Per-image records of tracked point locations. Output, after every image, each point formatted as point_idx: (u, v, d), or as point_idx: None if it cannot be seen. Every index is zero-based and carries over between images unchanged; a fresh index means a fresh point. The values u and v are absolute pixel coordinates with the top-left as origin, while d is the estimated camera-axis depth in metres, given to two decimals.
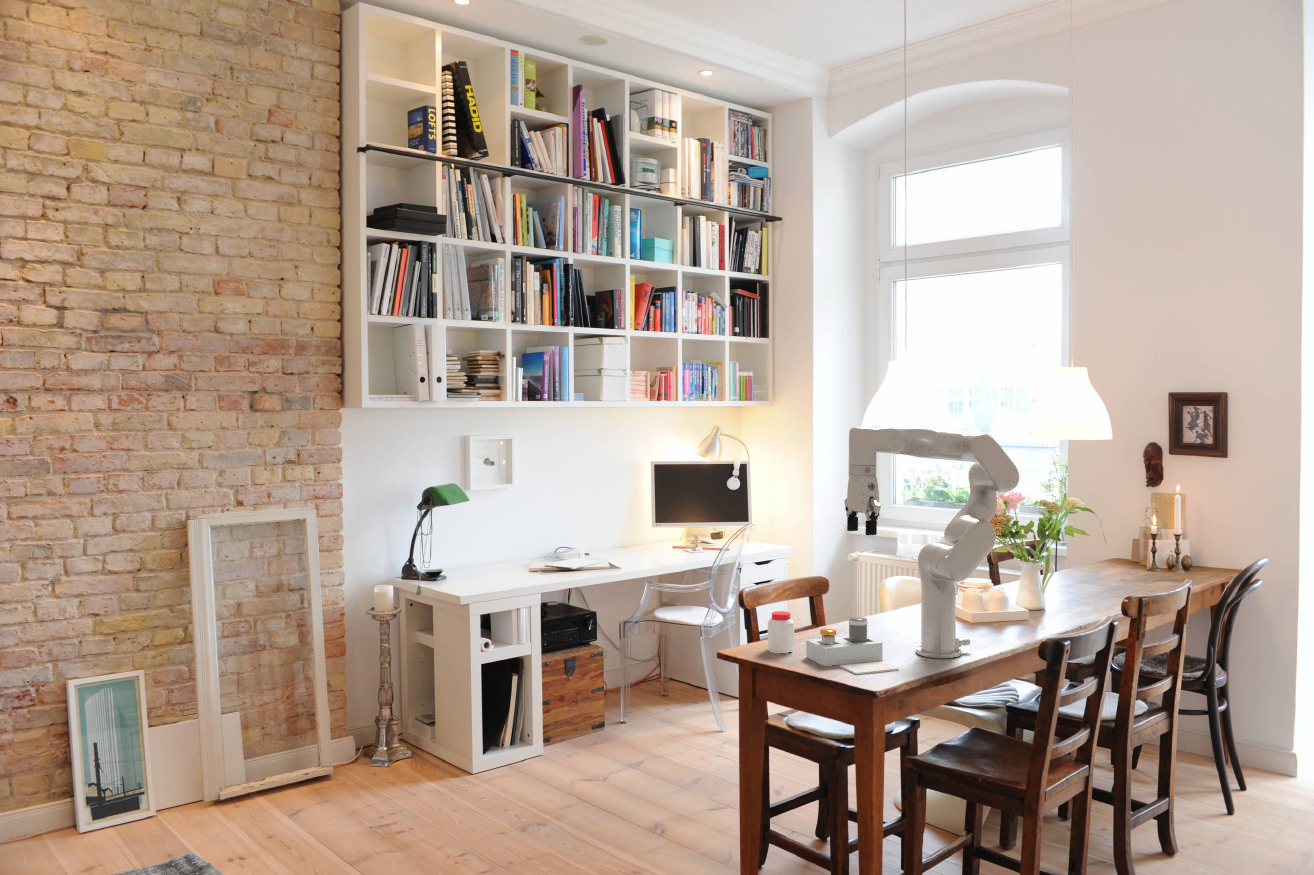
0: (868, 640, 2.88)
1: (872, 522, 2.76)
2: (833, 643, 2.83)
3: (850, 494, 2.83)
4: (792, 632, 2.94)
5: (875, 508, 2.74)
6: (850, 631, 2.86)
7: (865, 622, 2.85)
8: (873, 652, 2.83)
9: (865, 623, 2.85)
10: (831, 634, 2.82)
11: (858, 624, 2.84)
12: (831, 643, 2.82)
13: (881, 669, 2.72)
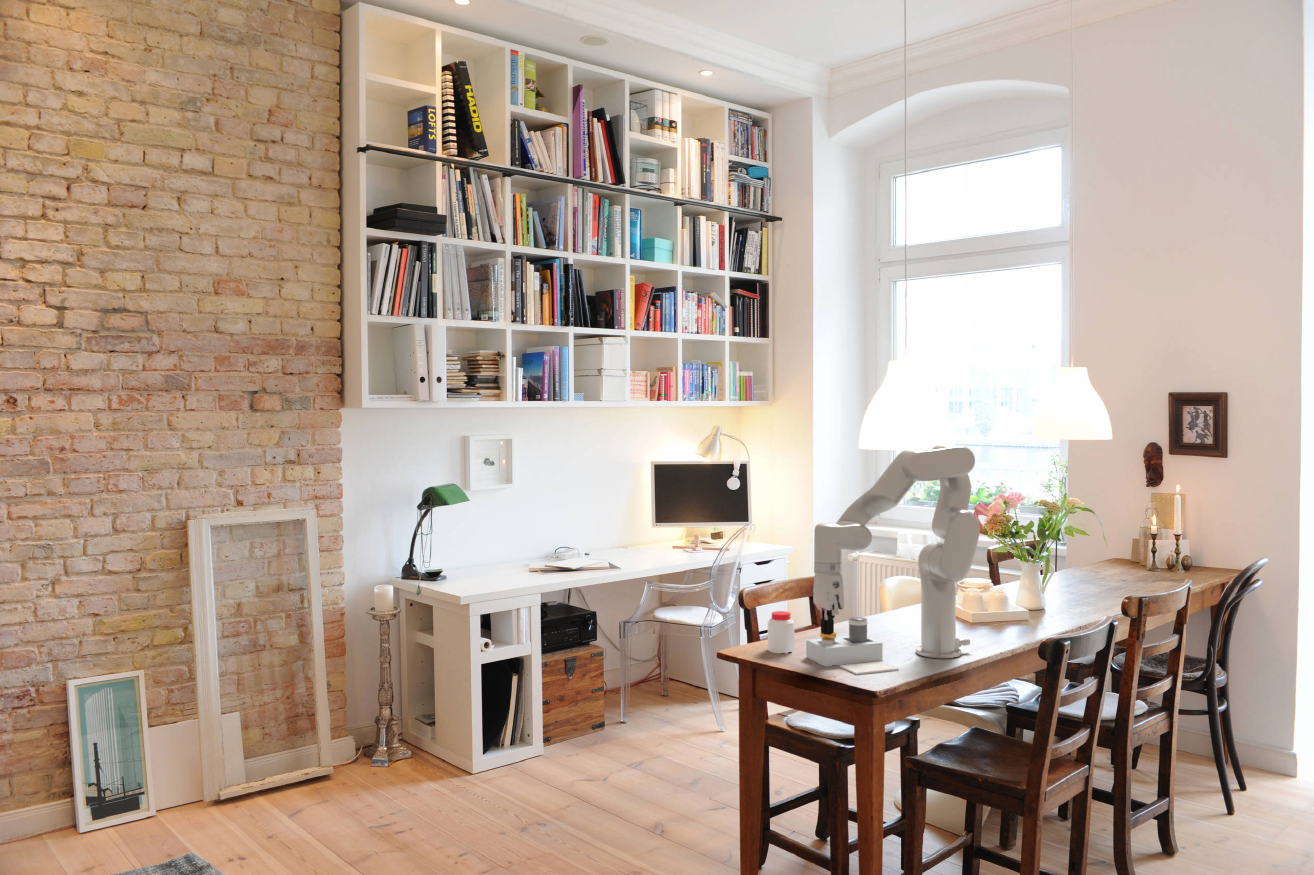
0: (868, 640, 2.88)
1: (829, 621, 2.82)
2: None
3: (816, 590, 2.85)
4: (792, 632, 2.94)
5: (833, 613, 2.79)
6: (850, 631, 2.86)
7: (865, 622, 2.85)
8: (873, 652, 2.83)
9: (865, 623, 2.85)
10: (831, 637, 2.82)
11: (858, 624, 2.84)
12: None
13: (881, 669, 2.72)
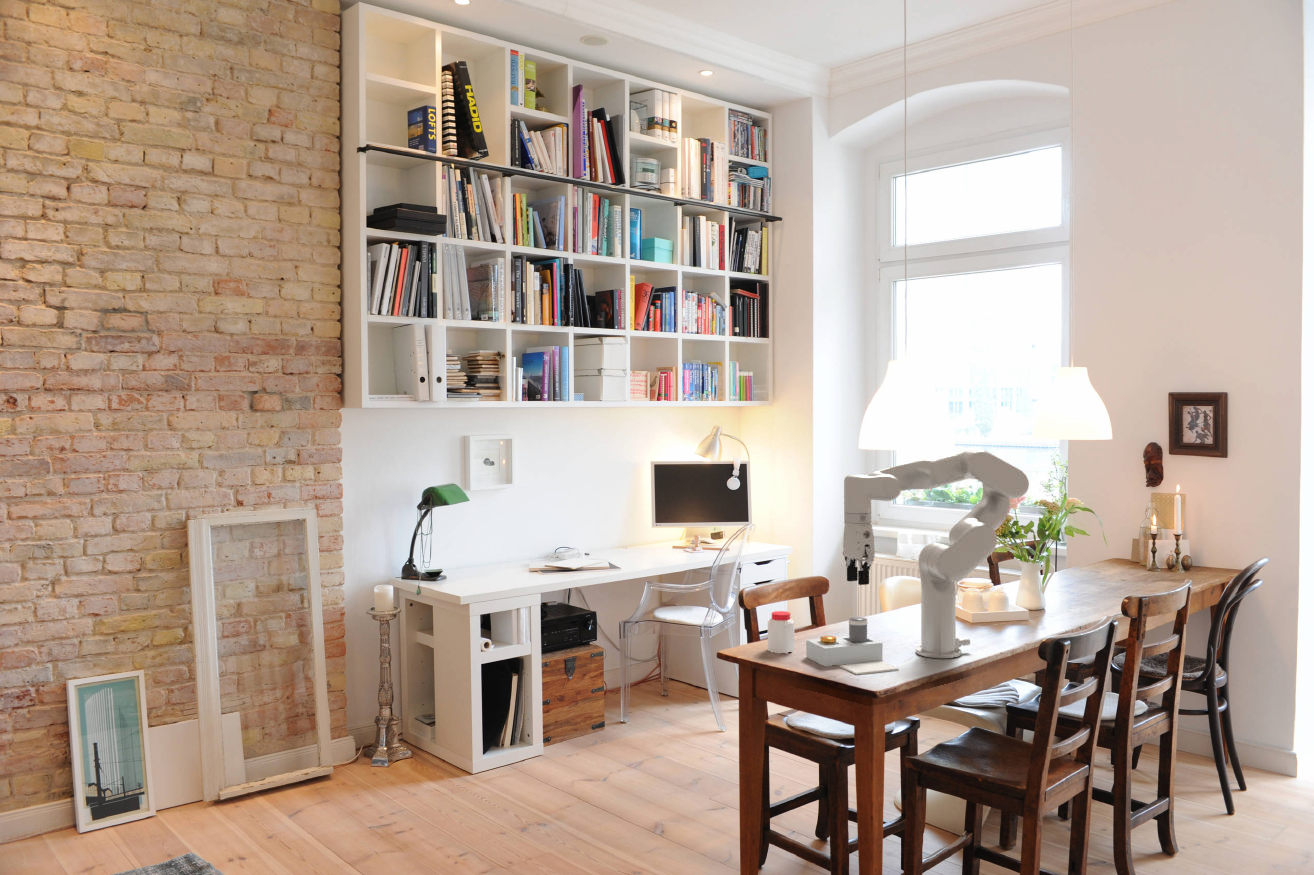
0: (868, 640, 2.88)
1: (864, 572, 2.83)
2: None
3: (846, 541, 2.88)
4: (792, 632, 2.94)
5: (868, 561, 2.80)
6: (850, 631, 2.86)
7: (865, 622, 2.85)
8: (873, 652, 2.83)
9: (865, 623, 2.85)
10: (831, 641, 2.82)
11: (858, 624, 2.84)
12: None
13: (881, 669, 2.72)
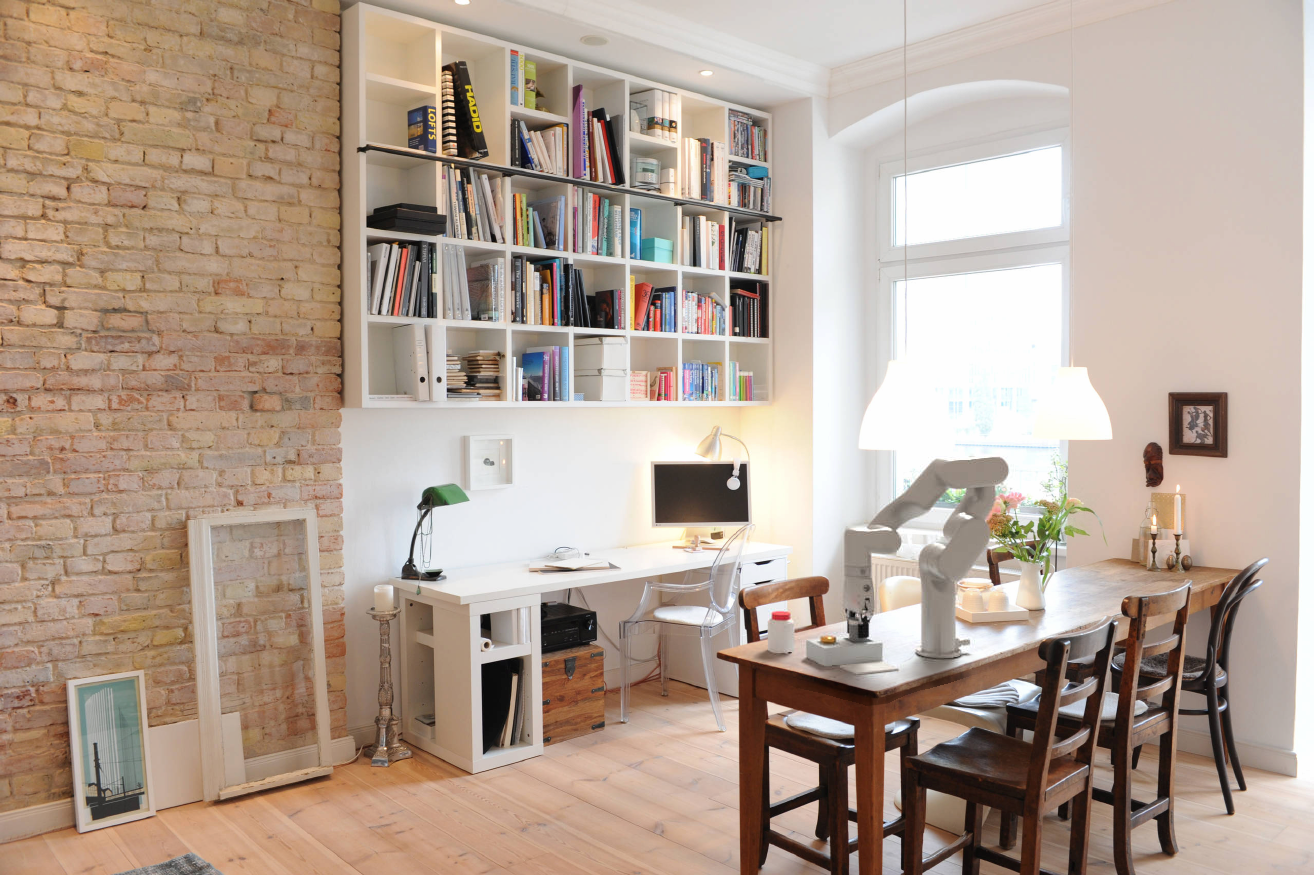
0: (868, 640, 2.88)
1: (864, 625, 2.83)
2: None
3: (846, 593, 2.88)
4: (792, 632, 2.94)
5: (868, 615, 2.80)
6: (850, 631, 2.86)
7: None
8: (873, 652, 2.83)
9: None
10: (831, 641, 2.82)
11: None
12: None
13: (881, 669, 2.72)
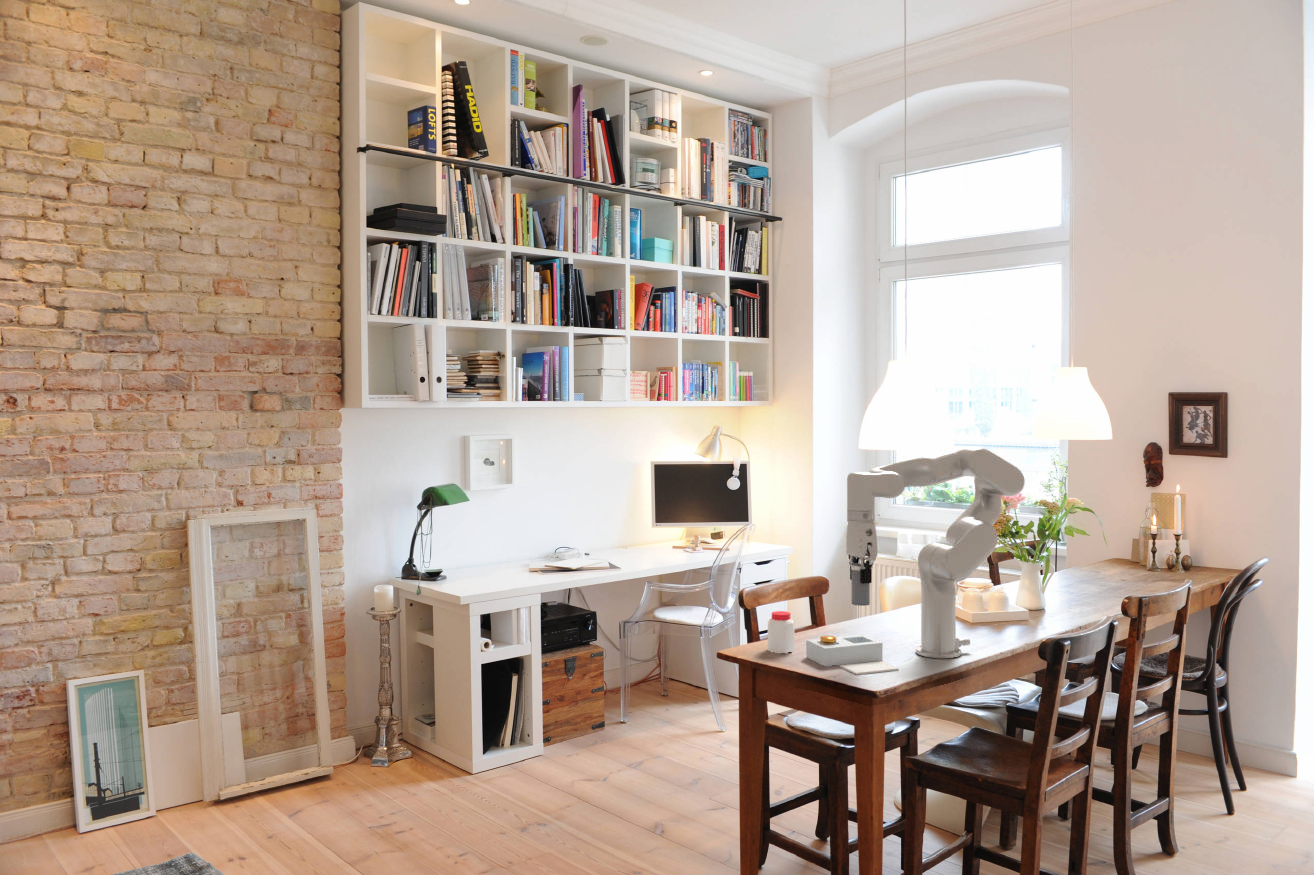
0: (868, 640, 2.88)
1: (867, 571, 2.79)
2: None
3: (849, 539, 2.84)
4: (792, 632, 2.94)
5: (870, 559, 2.76)
6: (852, 577, 2.82)
7: None
8: (873, 652, 2.83)
9: None
10: (831, 641, 2.82)
11: None
12: None
13: (881, 669, 2.72)
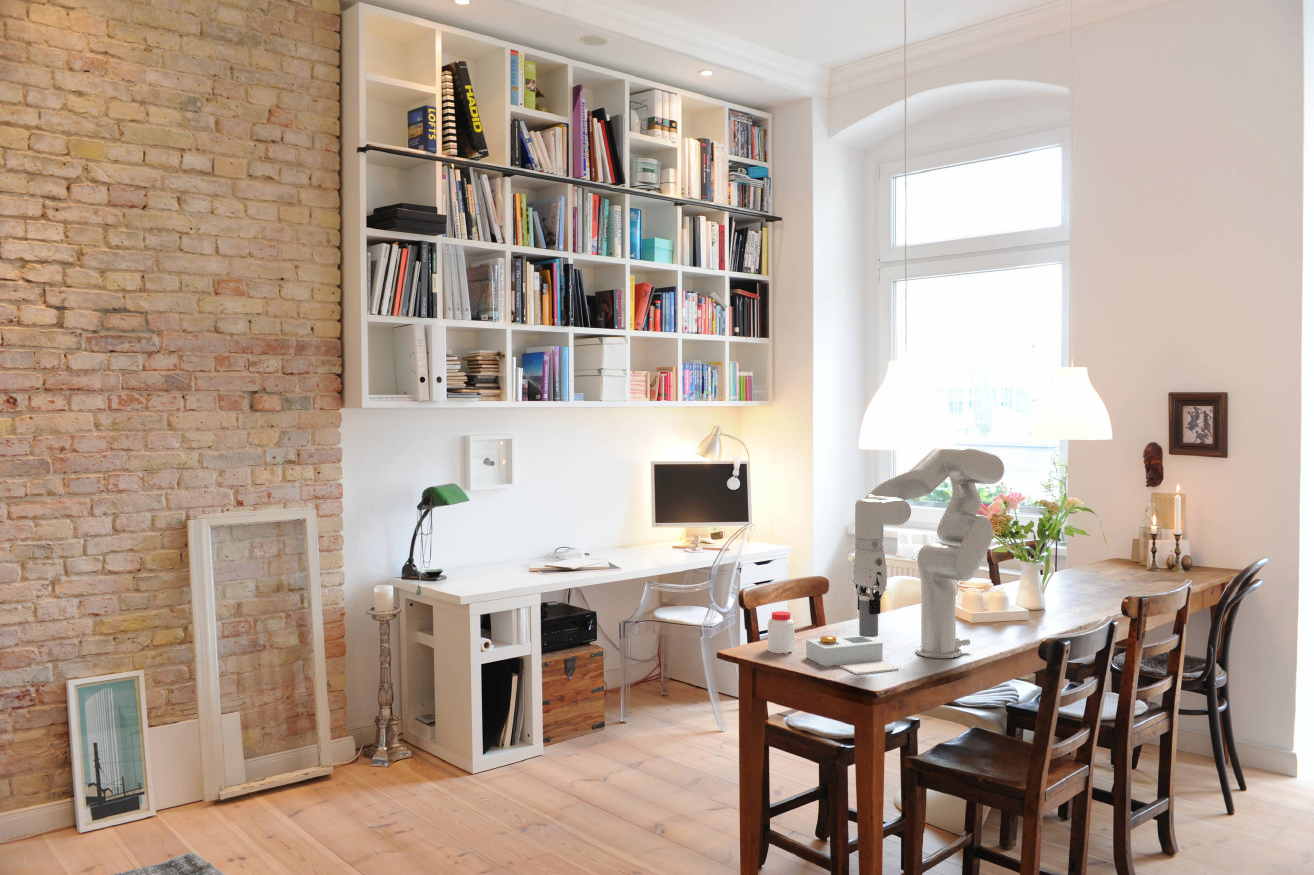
0: (868, 640, 2.88)
1: (876, 601, 2.70)
2: None
3: (857, 568, 2.75)
4: (792, 632, 2.94)
5: (880, 589, 2.68)
6: (860, 607, 2.73)
7: None
8: (873, 652, 2.83)
9: None
10: (831, 641, 2.82)
11: None
12: None
13: (881, 669, 2.72)
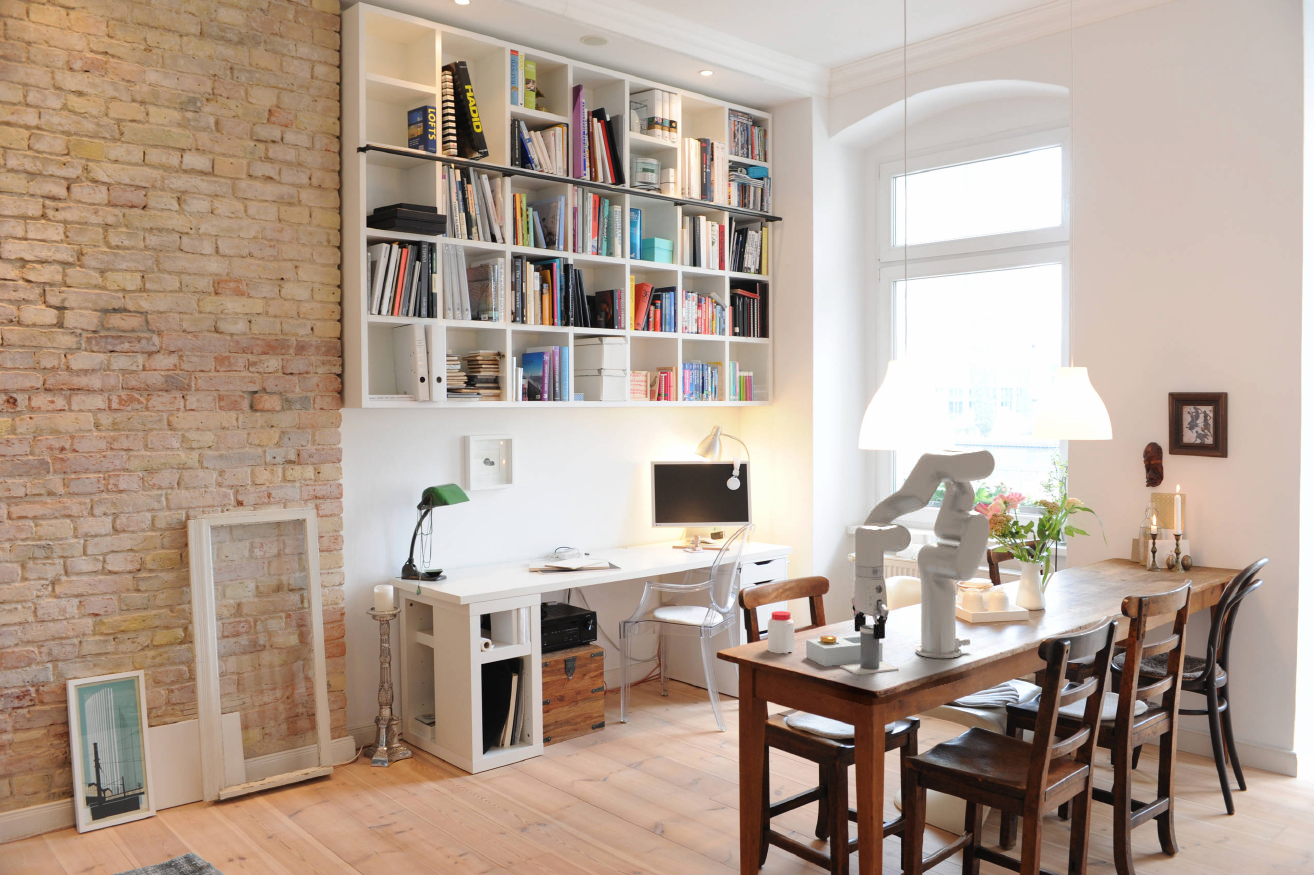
0: None
1: (880, 626, 2.69)
2: None
3: (857, 595, 2.75)
4: (792, 632, 2.94)
5: (883, 612, 2.67)
6: (861, 639, 2.74)
7: None
8: None
9: None
10: (831, 641, 2.82)
11: (870, 632, 2.72)
12: None
13: (881, 669, 2.72)
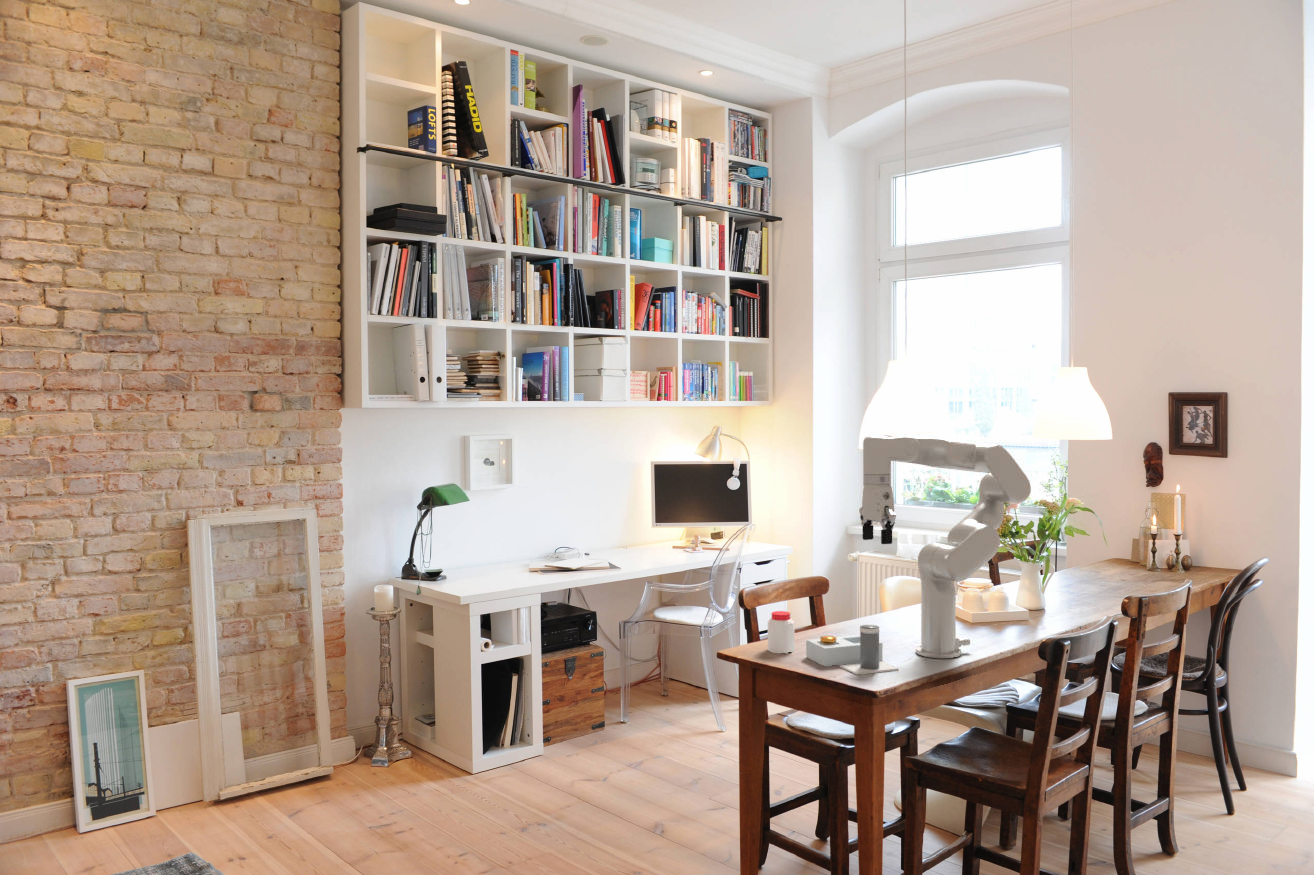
0: None
1: (887, 531, 2.77)
2: None
3: (865, 503, 2.84)
4: (792, 632, 2.94)
5: (890, 517, 2.75)
6: (861, 639, 2.74)
7: (877, 630, 2.72)
8: None
9: (877, 631, 2.72)
10: (831, 641, 2.82)
11: (870, 632, 2.72)
12: None
13: (881, 669, 2.72)
